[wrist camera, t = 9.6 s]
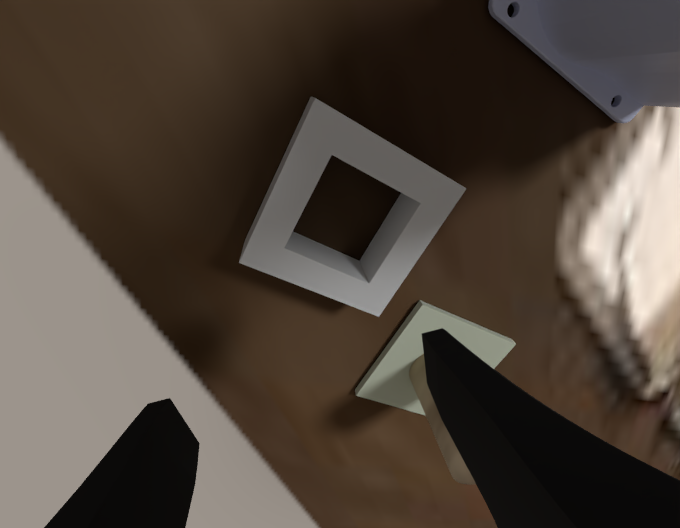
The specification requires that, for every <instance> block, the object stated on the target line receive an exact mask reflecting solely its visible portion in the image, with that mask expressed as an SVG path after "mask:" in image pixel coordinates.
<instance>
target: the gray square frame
mask: <svg viewBox="0 0 680 528" xmlns="http://www.w3.org/2000/svg"><path fill="white" fill-rule="evenodd" d="M331 155H333V156H335V157H337V158H339V159H340V160H342V161H344V162H346V163H348V164H350V165H351V166H353V167H355V168H357V169H359V170H361V171H362V172H364V173H366V174H368V175H370V176H372V177H373V178H375V179H377V180H379V181H381V182H383V183H384V184H386V185H388V186H390V187H392V188H394V189H395V190H397V191H399V192H401V194H400V195H399V197H398V199H397V200H396V202H395V203H394V205H393V207H392V208H391V210H390V212H389V213H388V215H387V216H386V218H385V220H384V221H383V223H382V225H381V226H380V228H379V230H378V231H377V233H376V234H375V236H374V238H373V239H372V241H371V243H370V244H369V246H368V247H367V249H366V251H365V252H364V254H363V256H362V257H361V259H360V261H359V260H357V259H354V258H352V257H350V256H348V255H345V254H343V253H341V252H339V251H336V250H334V249H332V248H329V247H327V246H325V245H323V244H320V243H318V242H316V241H314V240H311V239H309V238H307V237H305V236H302V235H300V234H298V233H295V232H293V230H294V228H295V226H296V224H297V222H298V220H299V218H300V216H301V214H302V212H303V210H304V208H305V206H306V204H307V202H308V200H309V198H310V197H311V195H312V193H313V191H314V189H315V187H316V185H317V183H318V181H319V179H320V177H321V175H322V173H323V171H324V169H325V167H326V165H327V163H328V161H329V159H330V157H331ZM466 189H467V188H465V187H463V186H462V185H460V184H458V183H457V182H455V181H453V180H452V179H450V178H448V177H447V176H445V175H443V174H442V173H440V172H438V171H437V170H435V169H433V168H432V167H430V166H428V165H427V164H425V163H423V162H422V161H420V160H418V159H416V158H415V157H413V156H411V155H410V154H408V153H406V152H405V151H403V150H401V149H400V148H398V147H396V146H395V145H393V144H391V143H390V142H388V141H386V140H385V139H383V138H381V137H380V136H378V135H376V134H375V133H373V132H371V131H370V130H368V129H366V128H365V127H363V126H361V125H360V124H358V123H356V122H355V121H353V120H351V119H350V118H348V117H346V116H345V115H343V114H341V113H340V112H338V111H336V110H335V109H333V108H331V107H330V106H328V105H326V104H325V103H323V102H321V101H320V100H318V99H316V98H314V97H310V99H309V101H308V104H307V106H306V108H305V110H304V112H303V114H302V117H301V119H300V121H299V123H298V125H297V128H296V130H295V132H294V134H293V136H292V138H291V141H290V143H289V145H288V147H287V149H286V152H285V154H284V156H283V158H282V160H281V162H280V165H279V167H278V169H277V171H276V173H275V176H274V178H273V180H272V182H271V184H270V186H269V189H268V191H267V193H266V195H265V197H264V200H263V202H262V204H261V206H260V208H259V210H258V213H257V215H256V217H255V219H254V221H253V224H252V226H251V228H250V230H249V232H248V234H247V237H246V239H245V241H244V245H243V249H242V253H241V257H240V260H239V263H241V264H243V265H246V266H248V267H251V268H254V269H256V270H259V271H261V272H264V273H267V274H269V275H272V276H274V277H277V278H280V279H282V280H285V281H287V282H290V283H293V284H295V285H298V286H300V287H303V288H306V289H308V290H311V291H313V292H316V293H319V294H321V295H324V296H326V297H329V298H331V299H334V300H337V301H339V302H342V303H344V304H347V305H350V306H352V307H355V308H357V309H360V310H363V311H365V312H368V313H370V314H373V315H376V316H378V317H379V316H380V314H381V313H382V311H383V310H384V308H385V307H386V306H387V304H388V303H389V301H390V300H391V298H392V297H393V295H394V294H395V292H396V291H397V289H398V288H399V287H400V285H401V284H402V282H403V281H404V279H405V278H406V276H407V275H408V273H409V272H410V270H411V269H412V268H413V266H414V265H415V263H416V262H417V260H418V259H419V257H420V256H421V254H422V253H423V251H424V250H425V249H426V247H427V246H428V244H429V243H430V241H431V240H432V238H433V237H434V235H435V234H436V233H437V231H438V230H439V228H440V227H441V225H442V224H443V222H444V221H445V219H446V218H447V216H448V215H449V214H450V212H451V211H452V209H453V208H454V206H455V205H456V203H457V202H458V200H459V199H460V197H461V196H462V195H463V193H464V192H465V190H466Z"/></svg>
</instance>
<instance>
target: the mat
mask: <svg viewBox="0 0 680 528" xmlns="http://www.w3.org/2000/svg"><path fill="white" fill-rule="evenodd" d="M441 328H443V329H445V330H446V331H447V332H449V333H450V334H451V335H452V336H453V337H454V338H456V339H457V340H458V341H459V342H460V343H462V344H463V345H464V346H465V347H466V348H468V349H469V350H470V351H471V352H473V353H474V354H475V355H476V356H478V357H479V358H480V359H481V360H483V361H484V362H485V363H487V364H488V365H489V366H491V367H492V368H493V369H494V368H495V367H496V366H497V365H498V364H499V363H500V362H501V360H502V359H503V358H504V357H505V356H506V355H507V354H508V353H509V352H510V350H511V349H512V348H513V347H514V346H515V345H516V343H515V342H514V341H513V340H512V339H510V338H508V337H505V336H503V335H501V334H498V333H496V332H494V331H491V330H489V329H487V328H484V327H482V326H480V325H477V324H475V323H472V322H470V321H468V320H465V319H463V318H461V317H458V316H456V315H454V314H451V313H449V312H447V311H444V310H442V309H440V308H437V307H435V306H433V305H430V304H428V303H425V302H423V301H421V300H419V302H418V303H417V304H416V306H415V307H414V309H413V310H412V311H411V313H410V314H409V315H408V317H407V318H406V320H405V321H404V322H403V324H402V325H401V327H400V328H399V329H398V331H397V332H396V333H395V335H394V336H393V338H392V339H391V340H390V342H389V343H388V345H387V346H386V347H385V349H384V350H383V351H382V353H381V354H380V356H379V357H378V358H377V360H376V361H375V363H374V364H373V365H372V367H371V368H370V369H369V371H368V372H367V374H366V375H365V376H364V378H363V379H362V380H361V382H360V383H359V385H358V386H357V387H356V389H355V393H356V396H359V397H362V398H366V399H369V400H373V401H376V402H380V403H384V404H387V405H391V406H394V407H398V408H401V409H405V410H408V411H412V412H415V413H419V414H422V415H425V412H424V410H423V408H422V406H421V403H420V401H419V399H418V396H417V394H416V392H415V389H414V387H413V385H412V382H411V380H410V377H409V371H410V368H411V366H412V364H413V362H414V361H415V360H416V359H417V358H418V357H420V356H421V355H422V354H424V351H423V342H422V333H426V332H430V331H433V330H437V329H441Z"/></svg>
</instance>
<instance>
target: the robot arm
mask: <svg viewBox="0 0 680 528" xmlns="http://www.w3.org/2000/svg"><path fill="white" fill-rule="evenodd" d="M510 4H512V6H513V7H514V13H513V15H512V16H511V17H509V16H508V14H507V9H508V6H509V5H510ZM488 9H489V13H490V14H491V16H492V17H493V18H494V19H495V20H497V21H498V22H499V23H500V24H501V25H502V26H504V27H505V28H506V29H507V30H508V31H509V32H511V33H512V34H513V35H514V36H515V37H516V38H518V39H519V40H520V41H521V42H522V43H524V44H525V45H526V46H527V47H528V48H529V49H531V50H532V51H533V52H534V53H535V54H536V55H538V56H539V57H540V58H541V59H542V60H543V61H545V62H546V63H547V64H548V65H549V66H550V67H552V68H553V69H554V70H555V71H556V72H557V73H559V74H560V75H561V76H562V77H563V78H565V79H566V80H567V81H568V82H569V83H570V84H572V85H573V86H574V87H575V88H576V89H577V90H579V91H580V92H581V93H582V94H583V95H584V96H586V97H587V98H588V99H589V100H590V101H591V102H593V103H594V104H595V105H596V106H597V107H598V108H600V109H601V110H602V111H603V112H604V113H605V114H607V115H608V116H609V117H610V118H611V119H613V120H614V121H615V122H617V123H627V122H629V121H631V120H632V119H633V118H634V117H635V115H636V114H637V113H638V112H639V110H640V109H641V108H642V107H643V106H644V105H645V106H665V107H680V0H489V5H488ZM614 97H615V99H614V102H613V104H612V105H611V101H612V99H613V98H614ZM422 342H423V351H424V360H425V370H426V379H427V385H428V387H429V390H430V392H431V395H432V397H433V400H434V402H435V405H436V407H437V410H438V412H439V415H440V417H441V419H442V421H443V423H444V425H445V427H446V429H447V430H448V432H449V434H450V436H451V438H452V440H453V442H454V444H455V446H456V447H457V449H458V451H459V453H460V455H461V457H462V459H463V460H464V462H465V464H466V466H467V468H468V470H469V472H470V473H471V475H472V477H473V479H474V481H475V483H476V485H477V487H478V488H479V490H480V492H481V494H482V496H483V498H484V500H485V502H486V504H487V506H488V508H489V510H490V512H491V514H492V516H493V518H494V520H495V522H496V525H497V527H498V528H680V480H678V479H676V478H674V477H672V476H670V475H668V474H666V473H664V472H662V471H660V470H658V469H656V468H654V467H652V466H650V465H648V464H646V463H644V462H642V461H640V460H638V459H636V458H634V457H632V456H630V455H629V454H627V453H625V452H623V451H621V450H620V449H618V448H616V447H614V446H612V445H611V444H609V443H607V442H605V441H603V440H602V439H600V438H598V437H596V436H595V435H593V434H591V433H589V432H588V431H586V430H584V429H583V428H581V427H579V426H578V425H576V424H574V423H573V422H571V421H569V420H568V419H566V418H564V417H563V416H561V415H560V414H558V413H557V412H555V411H553V410H552V409H550V408H549V407H547V406H546V405H544V404H543V403H541V402H540V401H538V400H537V399H535V398H534V397H532V396H531V395H529V394H528V393H526V392H525V391H523V390H522V389H521V388H519V387H518V386H516V385H515V384H514V383H512V382H511V381H509V380H508V379H507V378H505V377H504V376H503V375H501V374H500V373H499V372H497V371H496V370H495V369H493V368H492V367H491V366H489V365H488V364H487V363H485V362H484V361H483V360H481V359H480V358H479V357H478V356H476V355H475V354H474V353H473V352H471V351H470V350H469V349H468V348H466V347H465V346H464V345H463V344H462V343H460V342H459V341H458V340H457V339H456V338H454V337H453V336H452V335H451V334H450V333H449V332H447V331H446V330H445V329H443V328H441V329H437V330H433V331H430V332H426V333H422ZM198 452H199V442H198V441H197V439H196V438H195V436H194V434H193V433H192V431H191V430H190V428H189V427H188V425H187V424H186V422H185V421H184V419H183V418H182V416H181V415H180V413H179V412H178V410H177V408H176V407H175V405H174V404H173V402H172V401H171V399H165V400H161V401H157V402H153V403H150V404H147V406H146V407H145V408H144V409H143V410H142V411H141V412H140V414H139V415H138V416H137V417H136V418H135V420H134V421H133V422H132V423H131V424H130V426H129V427H128V428H127V429H126V431H125V432H124V433H123V434H122V436H121V437H120V438H119V439H118V441H117V442H116V443H115V444H114V445H113V447H112V448H111V449H110V450H109V452H108V453H107V454H106V455H105V456H104V458H103V459H102V460H101V461H100V463H99V464H98V465H97V466H96V467H95V469H94V470H93V471H92V472H91V474H90V475H89V476H88V477H87V478H86V480H85V481H84V482H83V483H82V485H81V486H80V487H79V488H78V489H77V490H76V492H75V493H74V494H73V495H72V496H71V497H70V499H69V500H68V501H67V502H66V503H65V504H64V505H63V507H62V508H61V509H60V510H59V511H58V513H57V514H56V515H55V516H54V517H53V518H52V519H51V520H50V522H49V523H48V524H47V525H46V526H45V527H44V528H185V526H186V521H187V517H188V513H189V509H190V504H191V500H192V495H193V491H194V486H195V480H196V471H197V462H198Z"/></svg>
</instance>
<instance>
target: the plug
mask: <svg viewBox="0 0 680 528" xmlns="http://www.w3.org/2000/svg"><path fill="white" fill-rule="evenodd" d="M409 377H410V380H411V382H412V385H413V387H414V389H415V392H416V394H417V396H418V399H419V401H420V403H421V406H422V408H423V410H424V412H425V415H426V417H427V419H428V422H429V424H430V426H431V429H432V431H433V433H434V436H435V438H436V440H437V443H438V445H439V447H440V450H441V452H442V454H443V457H444V459H445V461H446V464H447V466H448V468H449V470H450V473H451V475H452V477H453V478H454V480H456V481H457V482H459V483H462V484H476V483H475V481H474V479H473V477H472V475H471V473H470V472H469V470H468V468H467V466H466V464H465V462H464V460H463V459H462V457H461V455H460V453H459V451H458V449H457V447H456V446H455V444H454V442H453V440H452V438H451V436H450V434H449V432H448V430H447V429H446V427H445V425H444V423H443V421H442V419H441V417H440V415H439V412H438V410H437V407H436V405H435V402H434V400H433V397H432V395H431V392H430V390H429V387H428V385H427V379H426V370H425V360H424V354H422V355H421V356H420V357H418V358H417V359H416V360H415V361H414V362H413V364H412V366H411V368H410V371H409Z"/></svg>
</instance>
